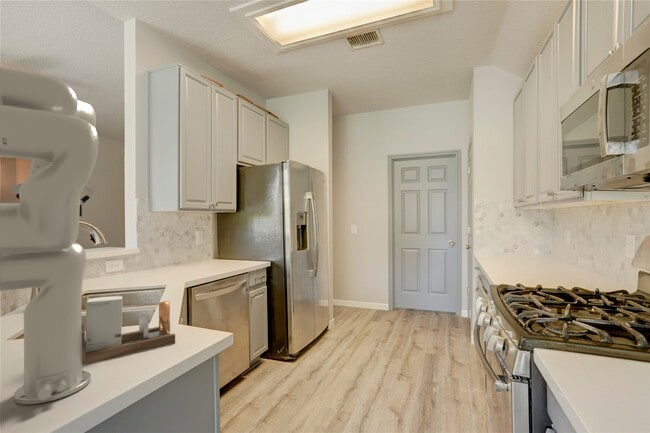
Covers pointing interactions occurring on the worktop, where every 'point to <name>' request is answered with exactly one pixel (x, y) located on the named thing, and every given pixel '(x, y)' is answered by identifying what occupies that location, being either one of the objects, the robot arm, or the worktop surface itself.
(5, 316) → the worktop surface
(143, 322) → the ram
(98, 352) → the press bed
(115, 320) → the skincare box
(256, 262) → the worktop surface
